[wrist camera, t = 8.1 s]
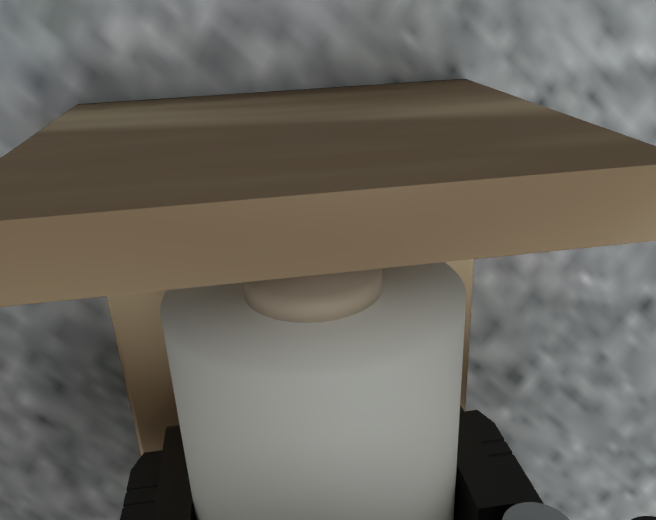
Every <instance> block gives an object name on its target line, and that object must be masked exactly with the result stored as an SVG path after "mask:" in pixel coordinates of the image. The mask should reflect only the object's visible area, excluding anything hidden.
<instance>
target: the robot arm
mask: <svg viewBox="0 0 656 520" xmlns="http://www.w3.org/2000/svg"><path fill="white" fill-rule="evenodd" d="M123 506H124V508H123V509H122V514H121V518H120V520H196V516H195V510H194V504H193V499H192V493H191V487H190V481H189V476H188V470H187V464H186V459H185V453H184V447H183V441H182V436H181V430H180V425H174V426H167V427H166V431H165V437H164V443H163V450H160V451H152V452H144V453H143V455H142V456H141V457H140V459H139V460H138V461H137V463H136V464H135V465H134V467H133V468H132V469H131V472H130V477H129V481H128V486H127V493H126V495H125V500H124V504H123ZM454 520H569V519H568V518H567V517H566V516H565V515H564V514H563V513H561V512H560V511H558V510H557V509H555V508H553V507H551V506H548V505H545V504H544V503H543V502H542V500H541V499H540V497H539V495H538V494H537V492H536V490H535V489H534V487H533V486H532V484H531V482H530V481H529V479H528V477H527V476H526V474H525V472H524V471H523V469H522V468H521V466H520V464H519V463H518V461H517V459H516V458H515V456H514V455H512V451H511V450H510V448H509V446H508V445H507V443H506V442H504V438H503V436H502V435H501V433H500V432H499V430H498V428H497V427H496V425H495V423H494V422H492V421H491V420H490V419H488V418H487V417H486V416H485V415H483V414H482V413H481V412H479V411H478V410H473V411H465V412H464V410H463V408H462V407H461V405H460V415H459V433H458V450H457V468H456V485H455V503H454ZM632 520H656V517H653V516H642V517H637V518H633V519H632Z"/></svg>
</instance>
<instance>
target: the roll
mask: <svg viewBox="0 0 656 520" xmlns="http://www.w3.org/2000/svg"><path fill="white" fill-rule="evenodd" d="M465 311H466V290H465V287H464V284H463V282H462V280H461V278H460V277H459V275H458V274H457V273H456V272H455V271H454V270H453V269H452V268H451V267H450V266H449V265H448V264H446V263H445V262H440V263H430V264H420V265H410V266H400V267H390V268H380V269H370V270H361V271H351V272H341V273H331V274H321V275H311V276H301V277H291V278H281V279H271V280H262V281H252V282H242V283H232V284H222V285H212V286H202V287H192V288H182V289H172V290H167V291H166V292H165V294H164V297H163V299H162V302H161V307H160V315H161V321H162V327H163V333H164V338H165V344H166V350H167V356H168V361H169V367H170V373H171V378H172V384H173V390H174V396H175V401H176V407H177V413H178V419H179V424H180V430H181V436H182V441H183V447H184V453H185V459H186V464H187V470H188V476H189V481H190V487H191V493H192V499H193V504H194V510H195V516H196V520H454V503H455V485H456V468H457V450H458V433H459V415H460V398H461V380H462V363H463V346H464V328H465Z"/></svg>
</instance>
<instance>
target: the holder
mask: <svg viewBox="0 0 656 520" xmlns="http://www.w3.org/2000/svg"><path fill="white" fill-rule="evenodd" d="M648 241H656V146H654V145H651V144H648V143H645V142H642V141H640V140H637V139H634V138H631V137H628V136H625V135H623V134H620V133H617V132H614V131H611V130H608V129H606V128H603V127H600V126H597V125H594V124H591V123H589V122H586V121H583V120H580V119H577V118H575V117H572V116H569V115H566V114H563V113H560V112H558V111H555V110H552V109H549V108H546V107H543V106H541V105H538V104H535V103H532V102H529V101H526V100H524V99H521V98H518V97H515V96H512V95H510V94H507V93H504V92H501V91H498V90H495V89H493V88H490V87H487V86H484V85H481V84H478V83H476V82H473V81H470V80H467V79H456V80H441V81H426V82H411V83H395V84H380V85H365V86H350V87H335V88H319V89H304V90H289V91H274V92H259V93H243V94H228V95H213V96H198V97H183V98H167V99H152V100H137V101H122V102H107V103H91V104H78V105H76V106H75V107H73V108H72V109H71V110H69V111H68V112H66V113H65V114H63V115H62V116H61V117H59V118H58V119H56V120H55V121H53V122H52V123H50V124H49V125H48V126H46V127H45V128H43V129H42V130H40V131H39V132H37V133H36V134H35V135H33V136H32V137H30V138H29V139H27V140H26V141H24V142H23V143H22V144H20V145H19V146H17V147H16V148H14V149H13V150H12V151H10V152H9V153H7V154H6V155H4V156H3V157H1V158H0V307H4V306H14V305H24V304H34V303H44V302H53V301H63V300H73V299H83V298H93V297H103V296H107V301H108V305H109V310H110V314H111V319H112V324H113V328H114V333H115V338H116V342H117V347H118V351H119V356H120V361H121V365H122V370H123V375H124V379H125V384H126V388H127V393H128V398H129V402H130V407H131V412H132V416H133V421H134V425H135V430H136V435H137V439H138V444H139V449H140V453H141V456H142V455H143V453H144V452H152V451H160V450H163V443H164V437H165V431H166V427H167V426H174V425H180V424H179V419H178V413H177V407H176V401H175V396H174V390H173V384H172V378H171V373H170V367H169V361H168V356H167V350H166V344H165V338H164V333H163V327H162V321H161V315H160V307H161V302H162V299H163V297H164V294H165V292H166V291H167V290H172V289H182V288H192V287H202V286H212V285H222V284H232V283H242V282H252V281H262V280H271V279H281V278H291V277H301V276H311V275H321V274H331V273H341V272H351V271H361V270H370V269H380V268H390V267H400V266H410V265H420V264H430V263H440V262H445V263H446V264H448V265H449V266H450V267H451V268H452V269H453V270H454V271H455V272H456V273H457V274H458V275H459V277H460V278H461V280H462V282H463V284H464V287H465V290H466V311H465V328H464V346H463V363H462V380H461V398H460V405H461V407H462V408H463V410H464V412H465V403H466V386H467V369H468V353H469V336H470V319H471V302H472V285H473V269H474V259H479V258H489V257H499V256H509V255H519V254H529V253H539V252H549V251H559V250H569V249H578V248H588V247H598V246H608V245H618V244H628V243H638V242H648Z"/></svg>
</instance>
